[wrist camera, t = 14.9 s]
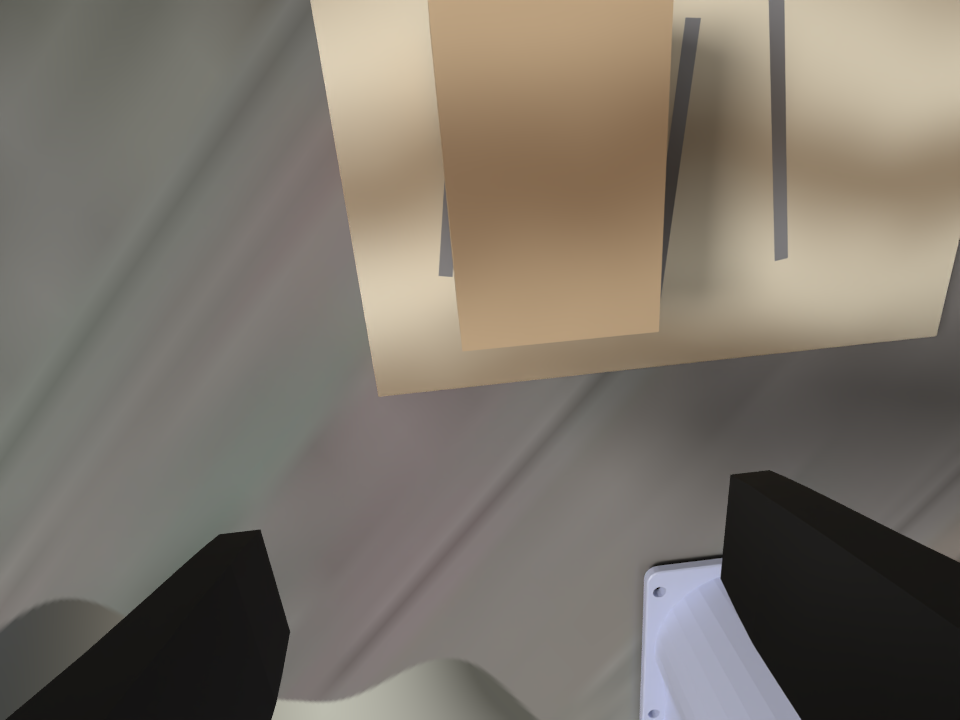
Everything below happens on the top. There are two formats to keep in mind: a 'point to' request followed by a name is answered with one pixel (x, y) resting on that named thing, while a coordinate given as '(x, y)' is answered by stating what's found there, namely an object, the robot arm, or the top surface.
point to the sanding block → (553, 164)
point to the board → (685, 186)
